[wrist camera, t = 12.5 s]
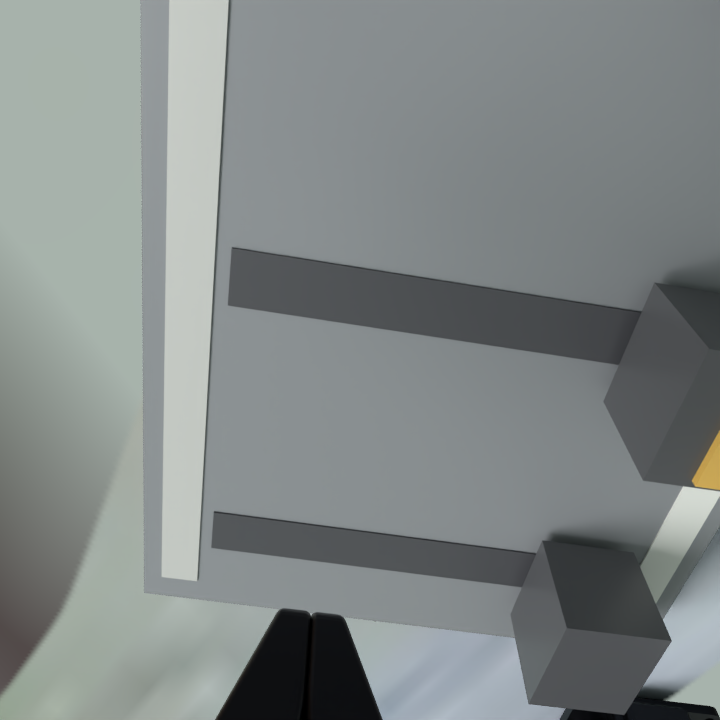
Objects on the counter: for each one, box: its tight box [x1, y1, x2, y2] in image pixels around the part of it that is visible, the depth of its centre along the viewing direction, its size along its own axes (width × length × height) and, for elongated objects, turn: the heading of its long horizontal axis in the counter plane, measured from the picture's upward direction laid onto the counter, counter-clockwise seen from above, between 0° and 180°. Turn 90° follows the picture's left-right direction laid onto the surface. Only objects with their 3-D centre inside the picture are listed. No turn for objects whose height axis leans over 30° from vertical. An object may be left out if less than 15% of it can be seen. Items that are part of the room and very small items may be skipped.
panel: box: [141, 0, 720, 715], centre depth 17 cm, size 25×18×6 cm
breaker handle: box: [603, 283, 720, 491], centre depth 16 cm, size 4×3×3 cm
